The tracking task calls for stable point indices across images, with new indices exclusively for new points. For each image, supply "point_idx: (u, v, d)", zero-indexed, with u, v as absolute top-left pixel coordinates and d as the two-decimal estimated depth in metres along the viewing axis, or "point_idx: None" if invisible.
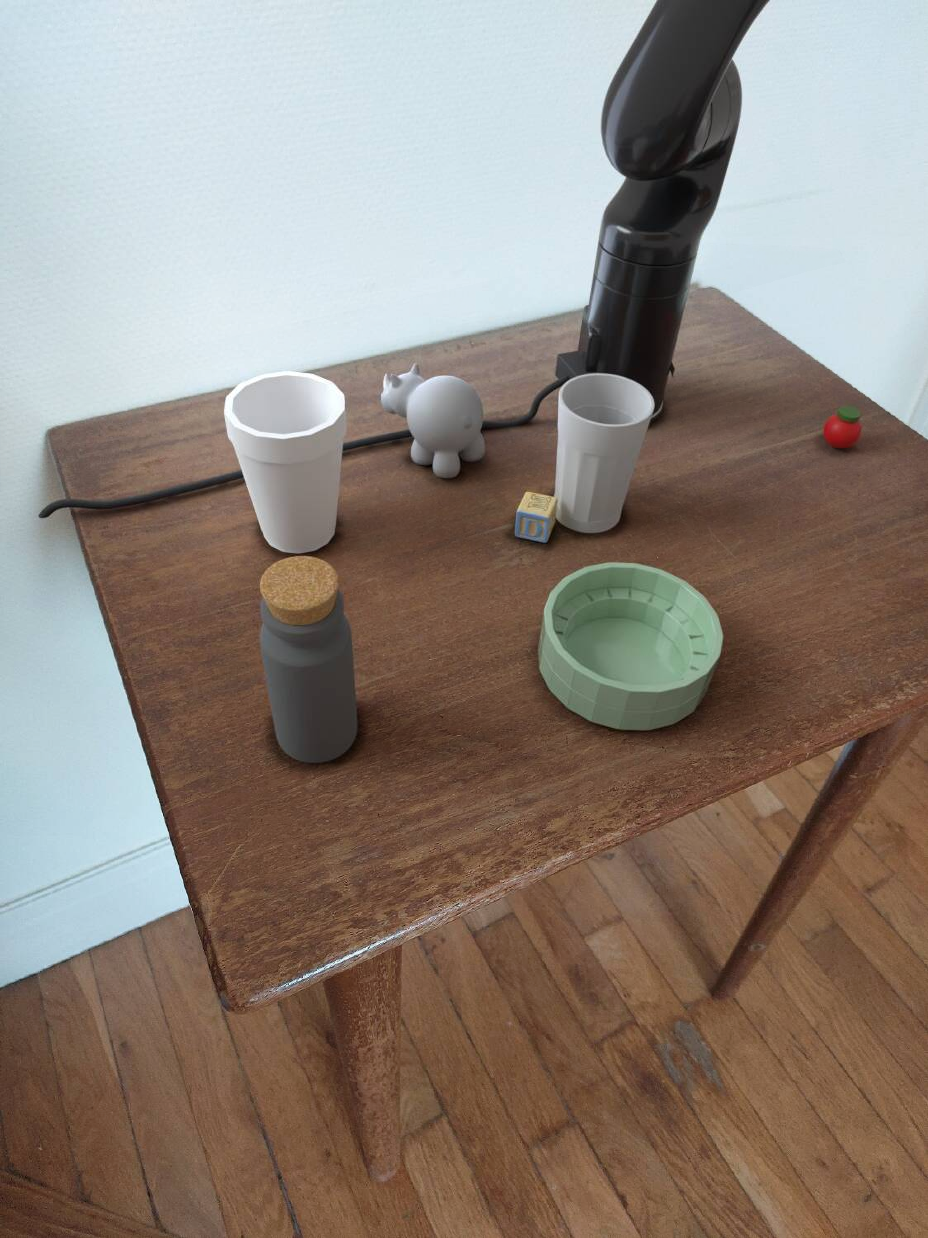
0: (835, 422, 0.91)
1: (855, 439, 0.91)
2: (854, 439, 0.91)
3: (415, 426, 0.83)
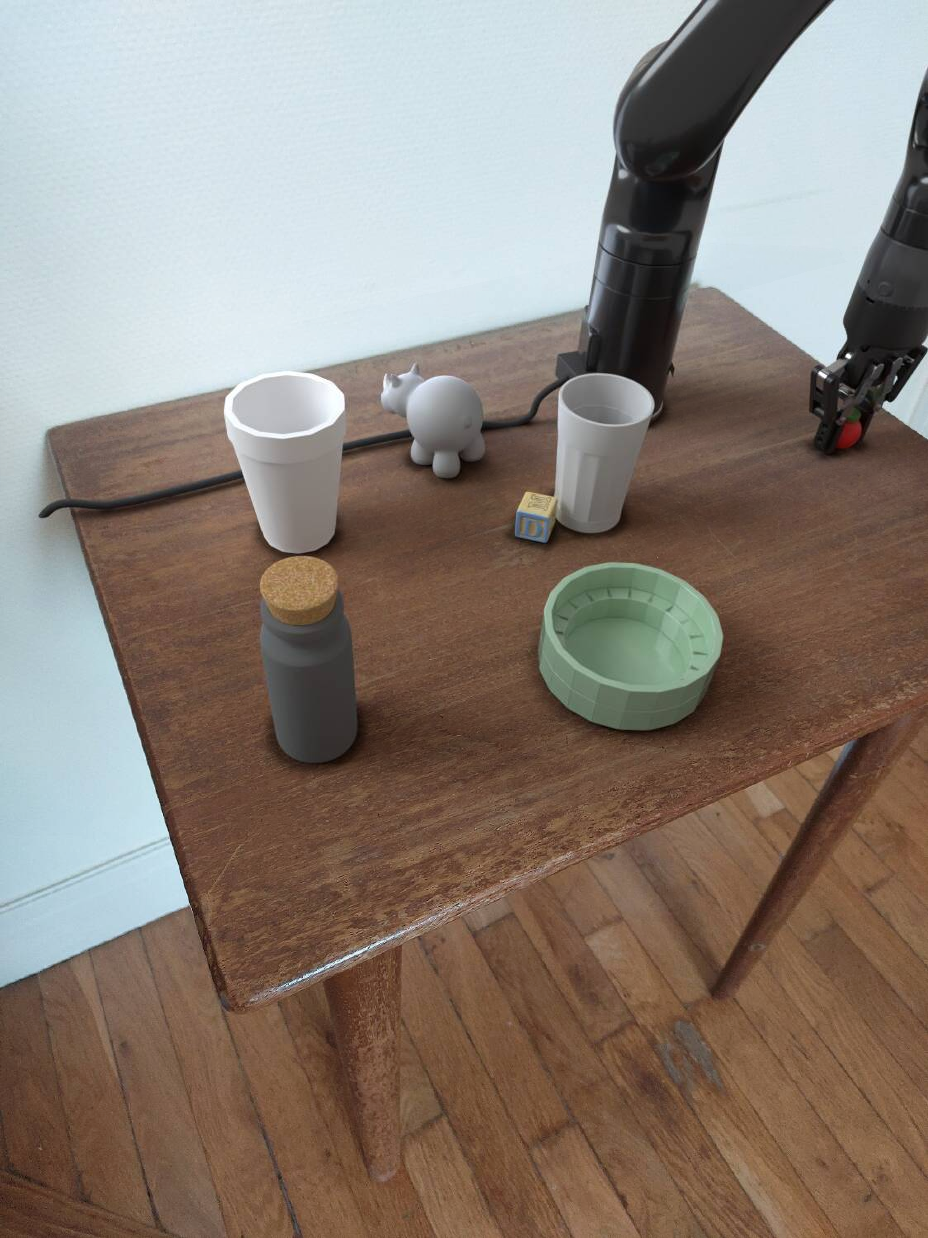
0: None
1: (855, 439, 0.91)
2: (854, 440, 0.91)
3: (415, 426, 0.83)
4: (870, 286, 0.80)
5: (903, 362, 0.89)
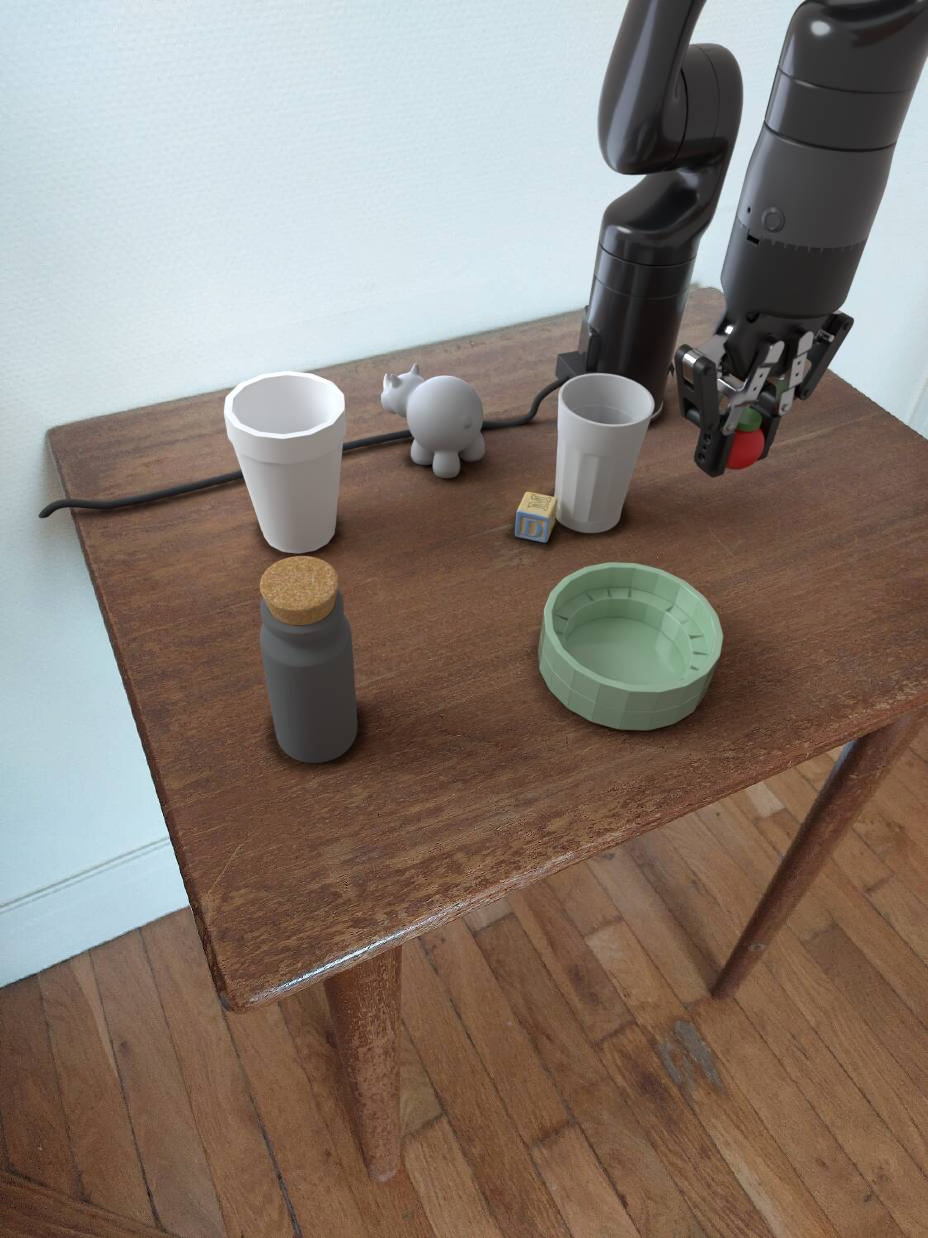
0: None
1: (755, 456, 0.62)
2: (754, 457, 0.62)
3: (415, 426, 0.83)
4: (752, 217, 0.51)
5: (818, 340, 0.60)
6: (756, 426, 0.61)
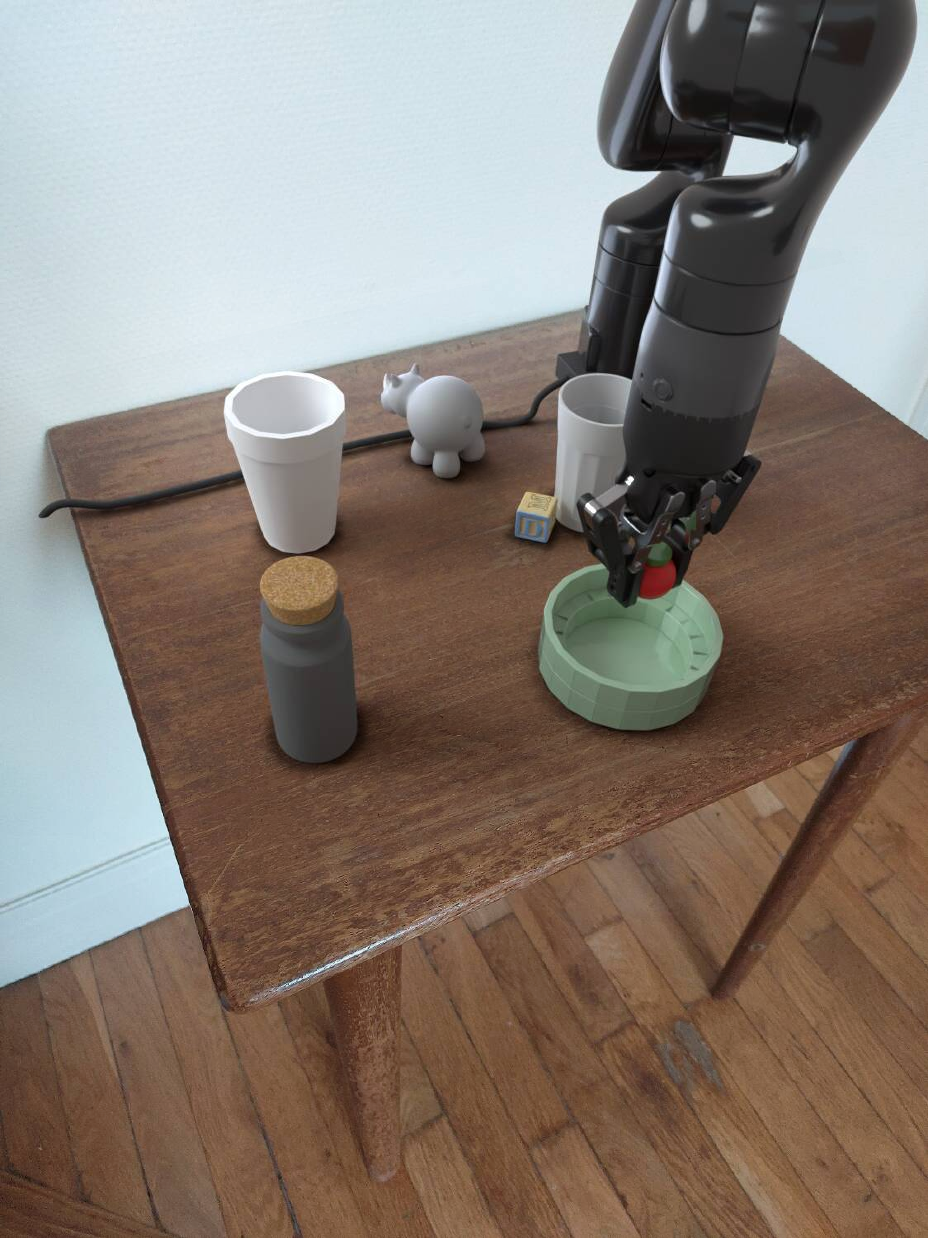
0: None
1: (666, 589, 0.63)
2: (664, 590, 0.63)
3: (415, 426, 0.83)
4: (644, 383, 0.51)
5: (727, 480, 0.60)
6: (666, 562, 0.62)
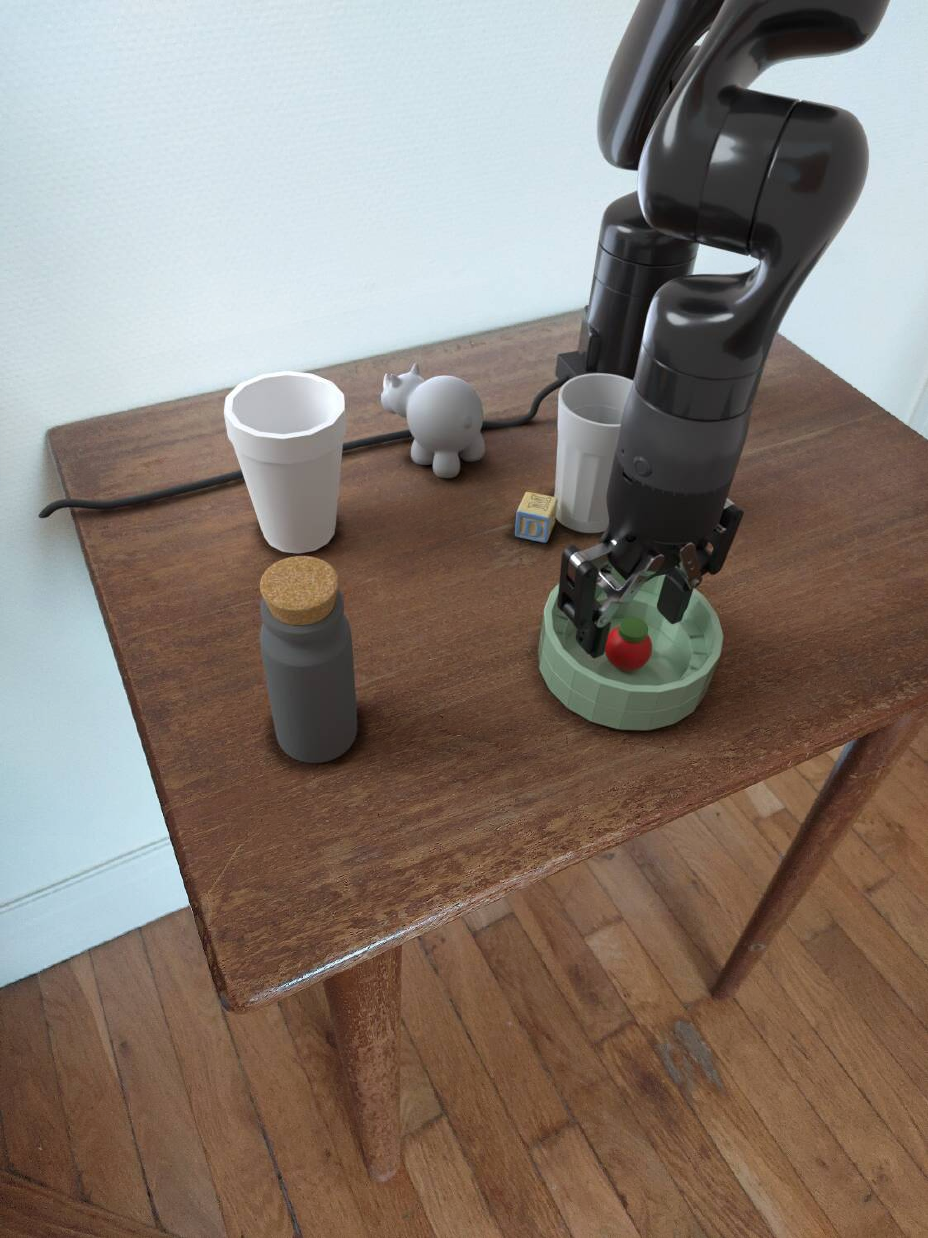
0: (615, 641, 0.68)
1: (643, 662, 0.68)
2: (641, 663, 0.68)
3: (415, 426, 0.83)
4: (625, 459, 0.55)
5: (714, 530, 0.64)
6: (642, 638, 0.67)
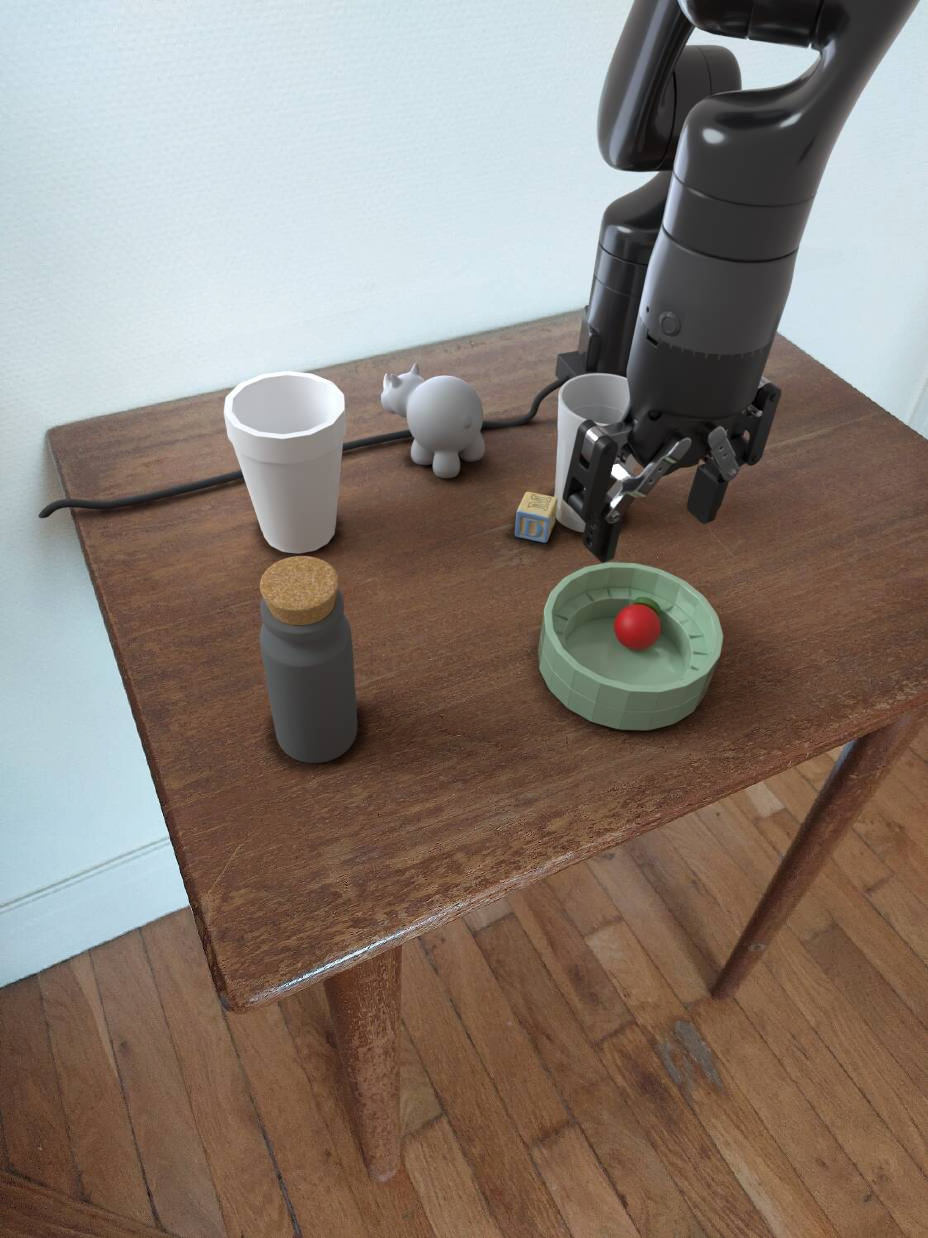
0: (632, 604, 0.71)
1: (657, 626, 0.70)
2: (656, 625, 0.70)
3: (415, 426, 0.83)
4: (650, 318, 0.48)
5: (749, 414, 0.57)
6: (658, 607, 0.71)
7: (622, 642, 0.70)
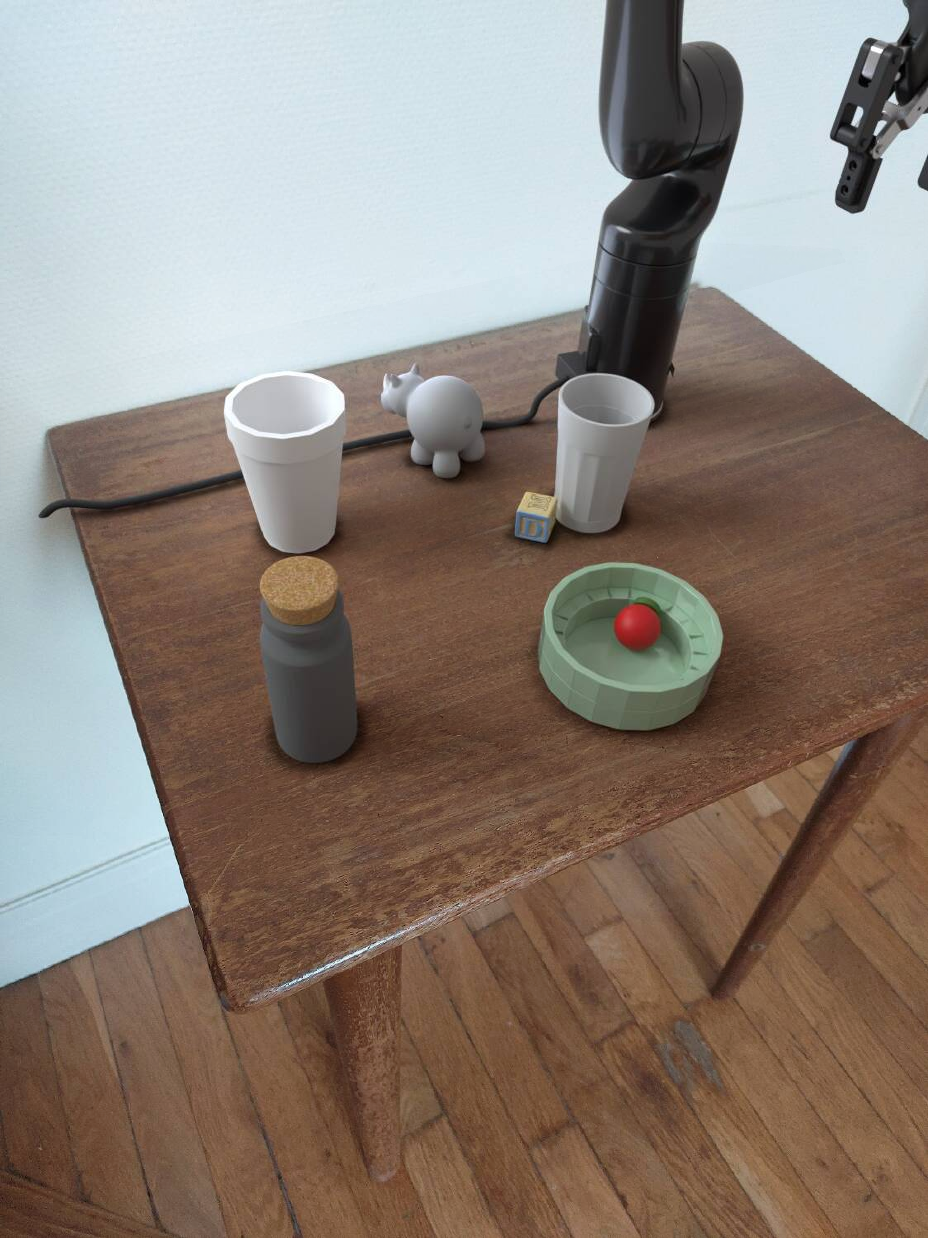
0: (632, 604, 0.71)
1: (657, 626, 0.70)
2: (656, 625, 0.70)
3: (415, 426, 0.83)
4: None
5: None
6: (658, 607, 0.71)
7: (622, 642, 0.70)
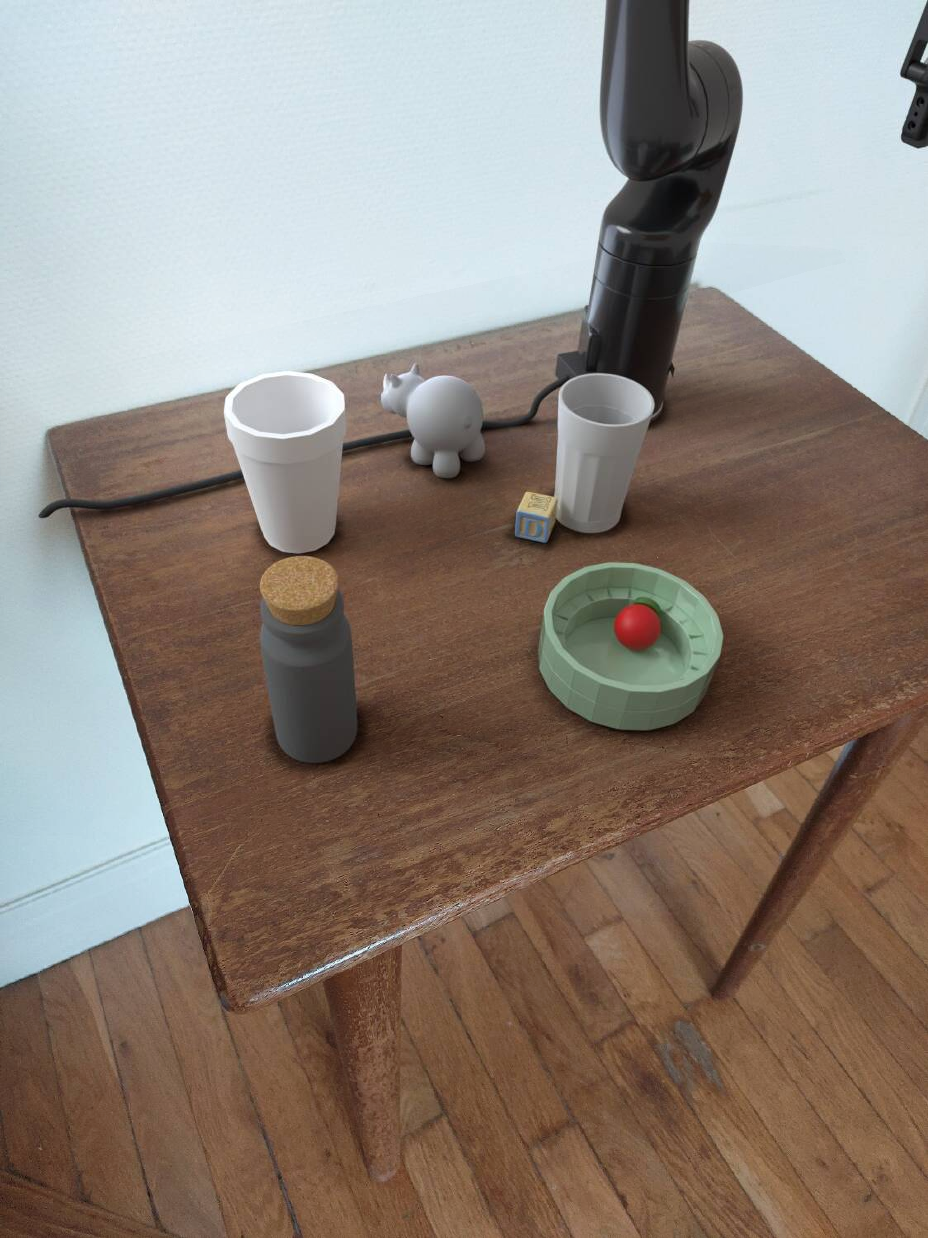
0: (632, 604, 0.71)
1: (657, 626, 0.70)
2: (656, 625, 0.70)
3: (415, 426, 0.83)
4: None
5: None
6: (658, 607, 0.71)
7: (622, 642, 0.70)
